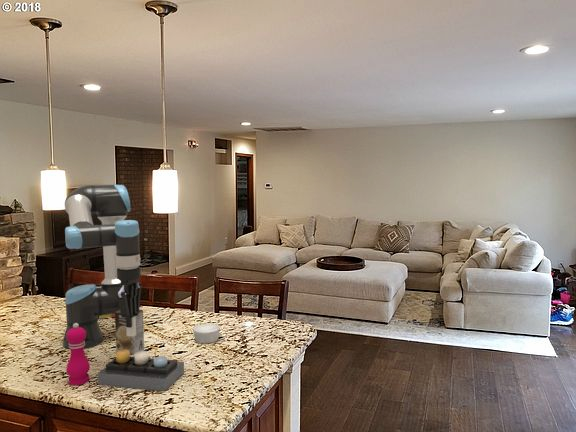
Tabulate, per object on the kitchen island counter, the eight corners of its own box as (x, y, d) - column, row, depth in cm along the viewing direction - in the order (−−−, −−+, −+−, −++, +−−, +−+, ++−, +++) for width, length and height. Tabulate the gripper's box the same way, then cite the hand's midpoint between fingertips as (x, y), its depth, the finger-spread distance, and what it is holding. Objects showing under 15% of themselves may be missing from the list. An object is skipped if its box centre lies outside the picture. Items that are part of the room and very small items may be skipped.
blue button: (151, 380, 154) (151, 361, 153) (158, 374, 158) (157, 355, 157) (164, 381, 153) (163, 362, 152) (170, 375, 157) (169, 356, 156)
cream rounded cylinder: (132, 374, 155) (131, 355, 154) (139, 369, 159) (138, 350, 159) (144, 375, 154) (143, 356, 154) (151, 370, 158) (150, 351, 158)
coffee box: (115, 352, 181) (113, 311, 179) (126, 346, 187) (124, 307, 185) (135, 354, 178) (133, 314, 176) (145, 348, 184) (143, 309, 182)
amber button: (113, 372, 157) (113, 353, 156) (121, 367, 161) (120, 349, 160) (125, 373, 156) (124, 354, 155) (132, 368, 160) (132, 349, 159)
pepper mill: (71, 377, 159) (68, 320, 157) (93, 376, 159) (90, 319, 158) (63, 386, 152) (59, 327, 150) (86, 385, 152) (83, 326, 150)
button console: (98, 384, 153) (97, 368, 152) (122, 367, 166) (121, 352, 166) (164, 391, 147) (164, 374, 147) (184, 372, 161) (183, 357, 161)
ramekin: (214, 345, 187) (214, 332, 186) (188, 344, 189) (188, 331, 188) (224, 336, 198) (223, 324, 197) (199, 334, 200) (199, 322, 199)
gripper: (128, 271, 147) (131, 343, 150) (148, 263, 160) (151, 329, 163) (107, 270, 149) (110, 341, 151) (128, 262, 162) (131, 328, 164)
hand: (131, 335), depth 157 cm, fingers closed
